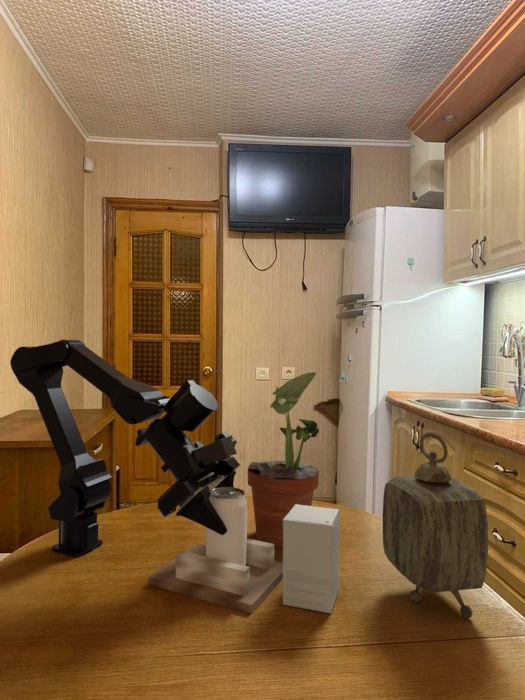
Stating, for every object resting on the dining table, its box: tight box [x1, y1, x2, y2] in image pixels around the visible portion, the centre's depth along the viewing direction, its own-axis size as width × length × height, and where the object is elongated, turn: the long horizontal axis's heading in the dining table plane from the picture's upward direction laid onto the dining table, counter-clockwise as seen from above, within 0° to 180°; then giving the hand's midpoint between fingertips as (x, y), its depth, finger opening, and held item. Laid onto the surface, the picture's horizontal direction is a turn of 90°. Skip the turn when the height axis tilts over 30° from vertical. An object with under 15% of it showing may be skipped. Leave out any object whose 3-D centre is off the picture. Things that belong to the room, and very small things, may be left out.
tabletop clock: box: [382, 431, 489, 619], centre depth 71 cm, size 14×9×25 cm, turn 12°
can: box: [205, 487, 248, 566], centre depth 76 cm, size 6×6×12 cm
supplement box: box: [282, 504, 340, 614], centre depth 71 cm, size 7×7×13 cm
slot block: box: [147, 538, 283, 615], centre depth 77 cm, size 18×14×5 cm
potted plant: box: [247, 372, 320, 547], centre depth 95 cm, size 16×15×35 cm
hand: (234, 525), depth 76 cm, fingers closed on can, 6 cm apart
